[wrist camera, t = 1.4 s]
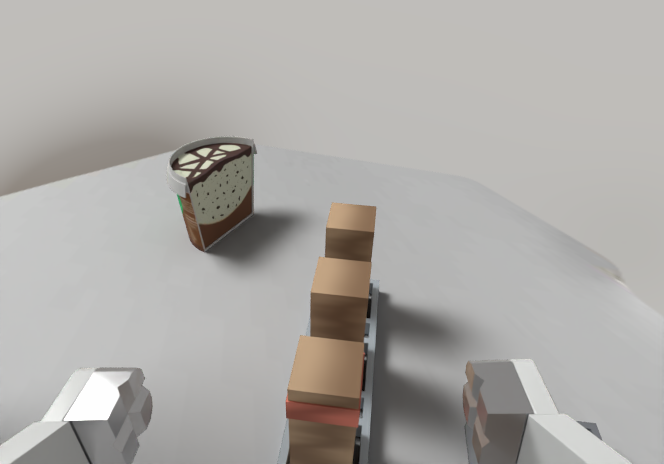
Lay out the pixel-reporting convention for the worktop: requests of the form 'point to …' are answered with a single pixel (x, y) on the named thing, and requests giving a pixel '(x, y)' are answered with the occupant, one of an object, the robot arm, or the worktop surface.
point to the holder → (366, 395)
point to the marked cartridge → (324, 400)
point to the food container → (213, 186)
